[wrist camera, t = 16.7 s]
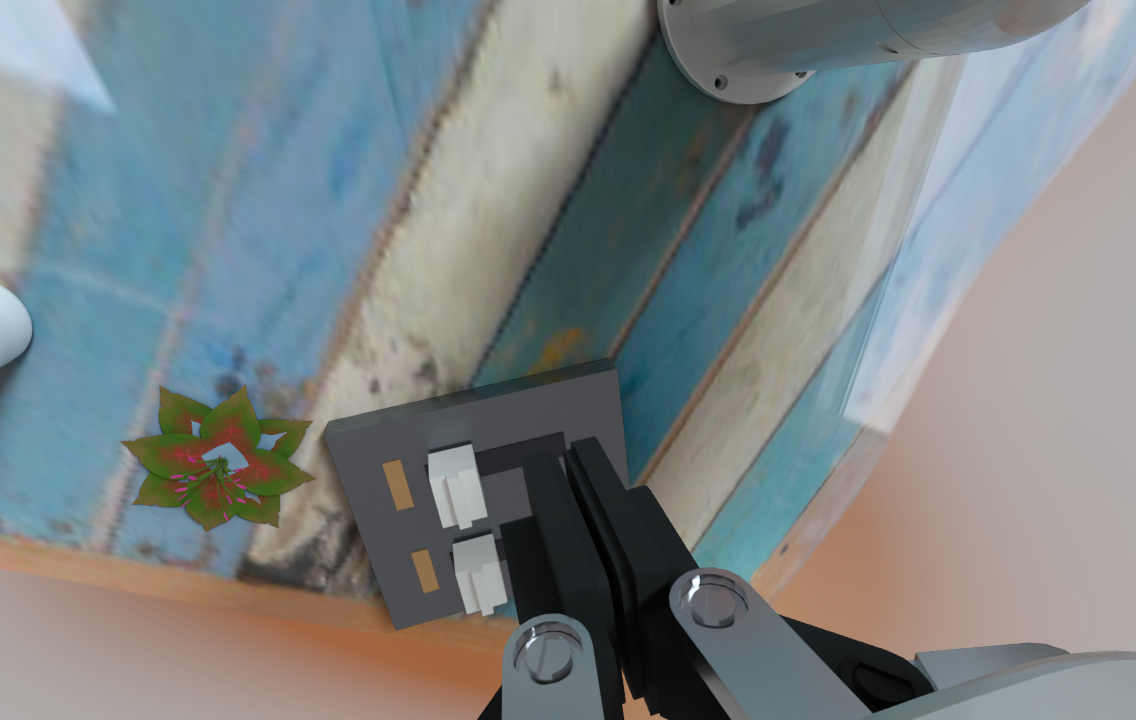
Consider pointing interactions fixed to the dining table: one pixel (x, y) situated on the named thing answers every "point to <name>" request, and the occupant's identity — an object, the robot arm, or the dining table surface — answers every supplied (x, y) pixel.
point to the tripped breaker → (479, 574)
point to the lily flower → (218, 460)
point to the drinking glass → (13, 327)
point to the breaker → (457, 486)
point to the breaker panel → (498, 436)
